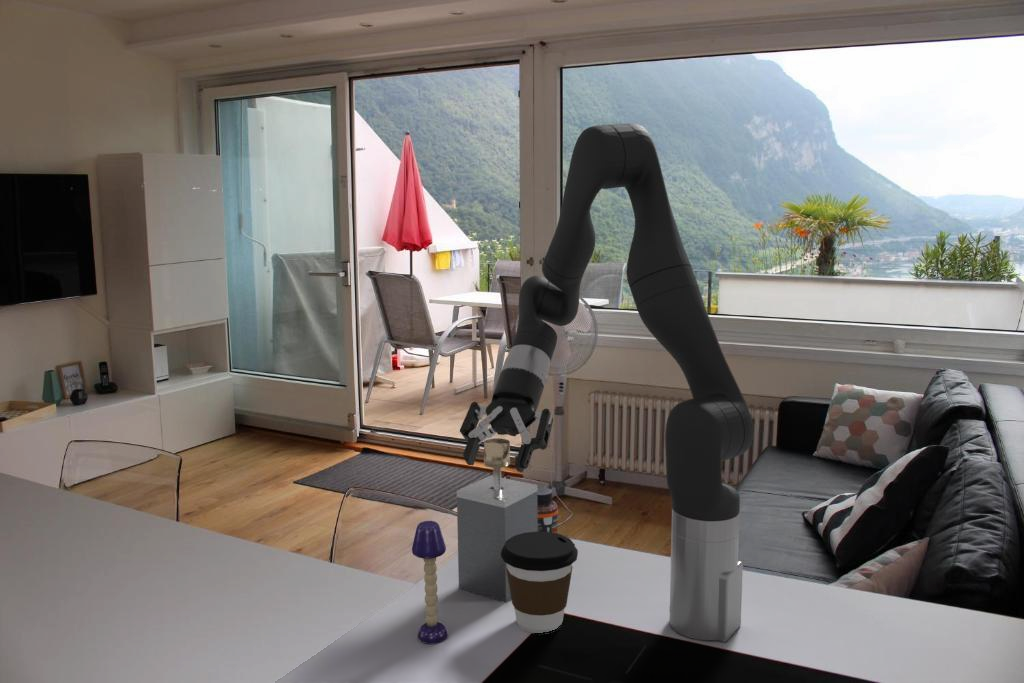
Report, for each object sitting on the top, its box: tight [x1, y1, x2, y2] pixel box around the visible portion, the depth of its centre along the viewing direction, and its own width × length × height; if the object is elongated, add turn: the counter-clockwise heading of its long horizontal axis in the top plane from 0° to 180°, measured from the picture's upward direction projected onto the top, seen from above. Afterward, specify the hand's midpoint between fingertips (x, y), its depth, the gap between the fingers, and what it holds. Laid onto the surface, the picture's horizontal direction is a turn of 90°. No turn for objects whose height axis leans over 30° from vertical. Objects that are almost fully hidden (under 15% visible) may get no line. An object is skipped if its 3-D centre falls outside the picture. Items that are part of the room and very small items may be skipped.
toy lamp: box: [411, 520, 449, 645], centre depth 118 cm, size 5×5×17 cm
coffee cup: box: [501, 532, 579, 634], centre depth 122 cm, size 11×11×12 cm
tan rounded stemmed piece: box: [483, 437, 511, 491], centre depth 134 cm, size 7×7×18 cm
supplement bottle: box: [537, 487, 559, 534], centre depth 147 cm, size 6×6×11 cm
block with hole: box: [456, 475, 538, 603], centre depth 135 cm, size 9×9×16 cm
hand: (493, 466), depth 132 cm, fingers open, 8 cm apart
